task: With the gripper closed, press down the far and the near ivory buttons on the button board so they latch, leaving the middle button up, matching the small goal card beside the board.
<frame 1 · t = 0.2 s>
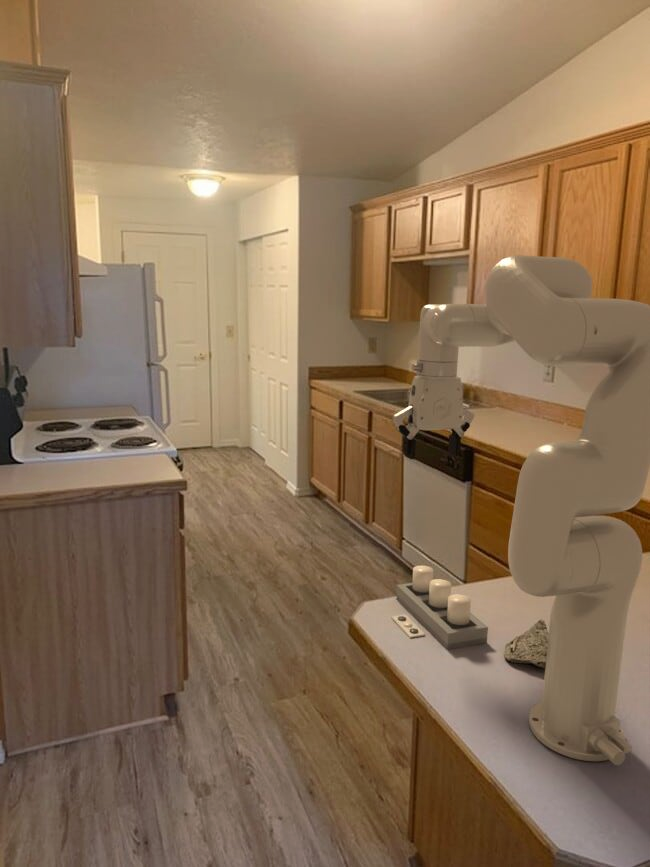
hand: (431, 456, 128), 30 cm above the counter, tool pointing down, fingers open, 9 cm apart
button board: (438, 619, 124), on the counter
button far: (422, 578, 130), point 5 cm above the counter, slide at 0.0 cm
button mid: (439, 593, 123), point 5 cm above the counter, slide at 0.0 cm
rock sample: (529, 662, 110), on the counter
button near: (458, 609, 117), point 5 cm above the counter, slide at 0.0 cm
goal card: (407, 626, 121), on the counter
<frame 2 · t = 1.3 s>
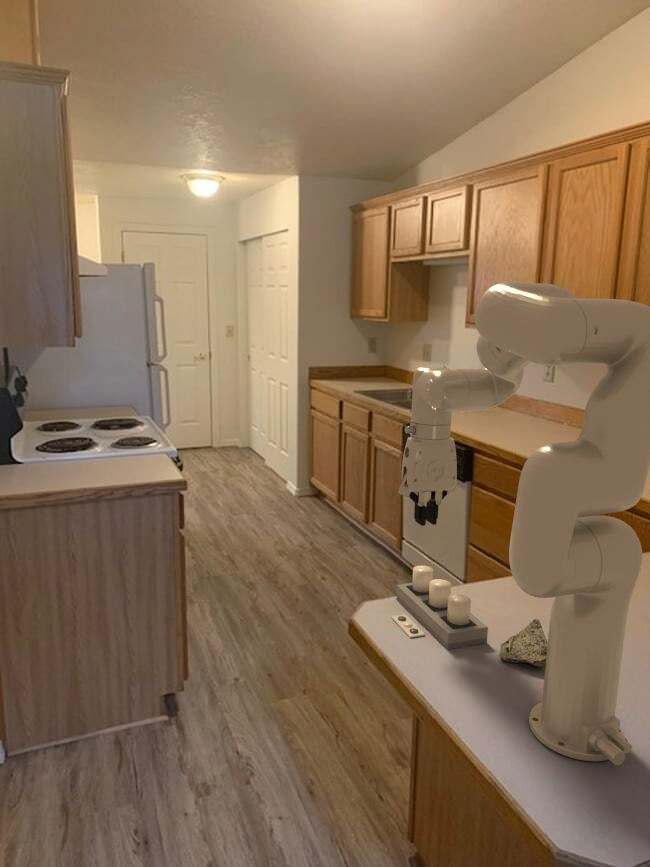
hand: (425, 522, 127), 17 cm above the counter, tool pointing down, fingers closed
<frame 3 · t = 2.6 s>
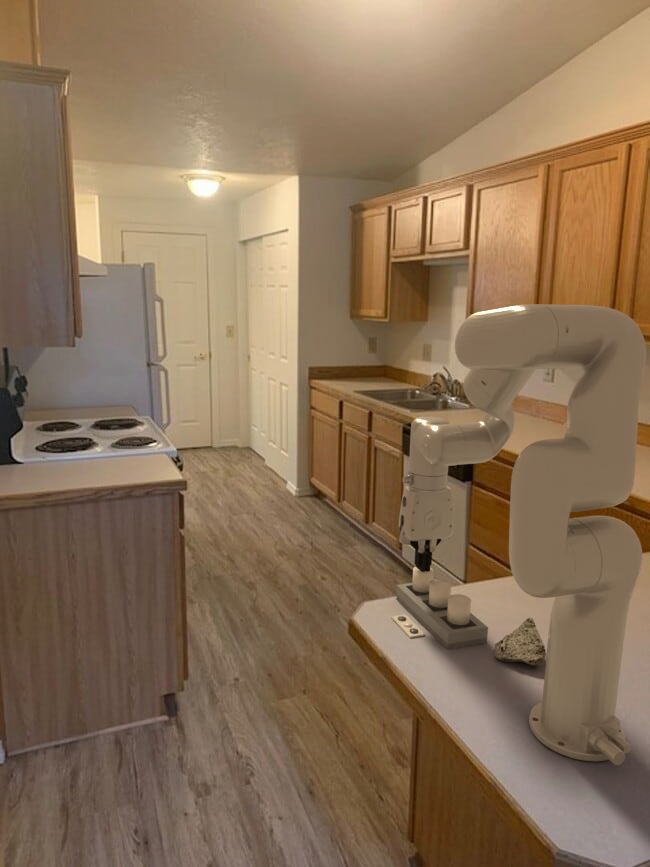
hand: (422, 568, 129), 7 cm above the counter, tool pointing down, fingers closed
button far: (422, 578, 130), point 5 cm above the counter, slide at 0.0 cm, touching gripper
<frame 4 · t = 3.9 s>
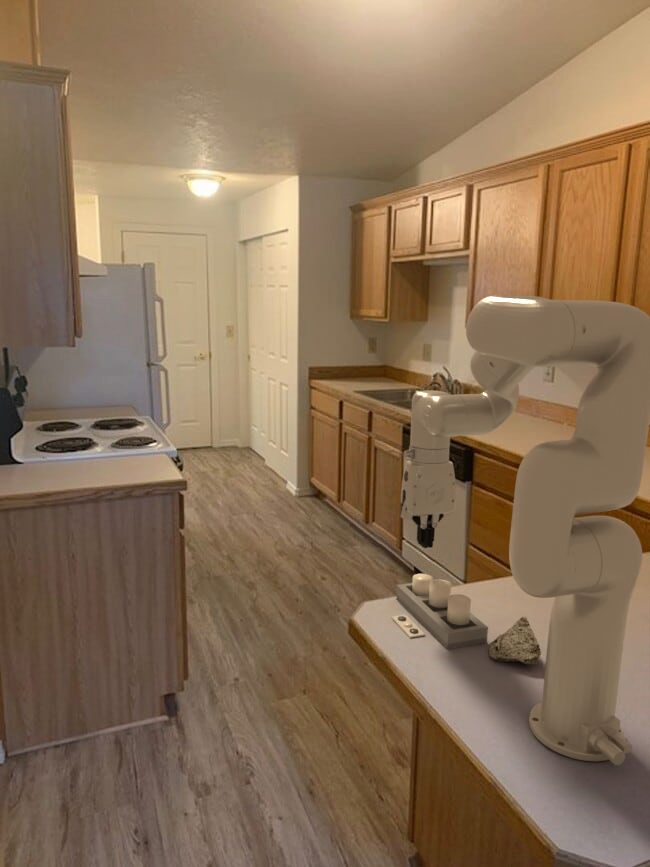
hand: (425, 545, 128), 12 cm above the counter, tool pointing down, fingers closed
button far: (422, 587, 130), point 4 cm above the counter, slide at -1.8 cm
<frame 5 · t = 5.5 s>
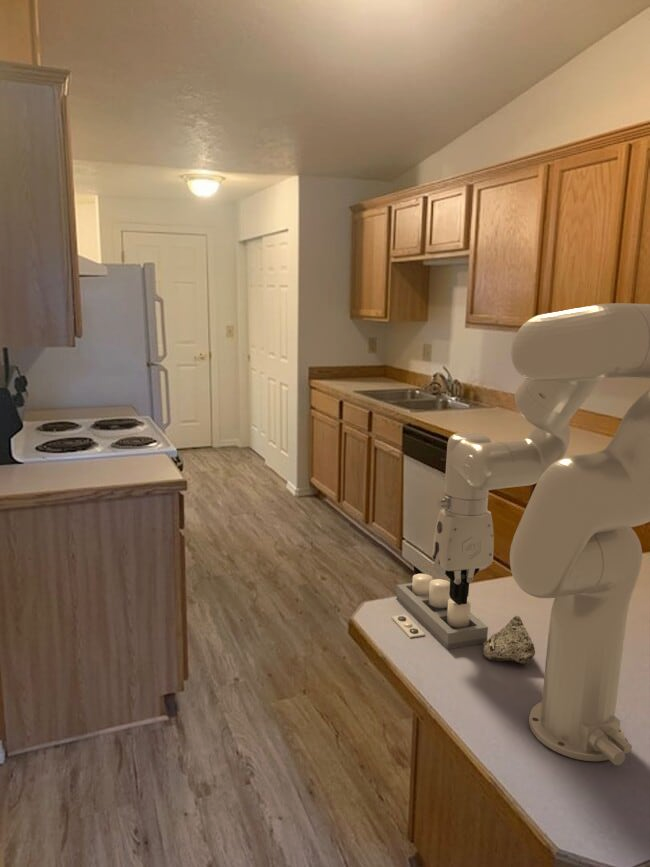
hand: (458, 600, 117), 7 cm above the counter, tool pointing down, fingers closed
button near: (458, 612, 117), point 5 cm above the counter, slide at -0.6 cm, touching gripper
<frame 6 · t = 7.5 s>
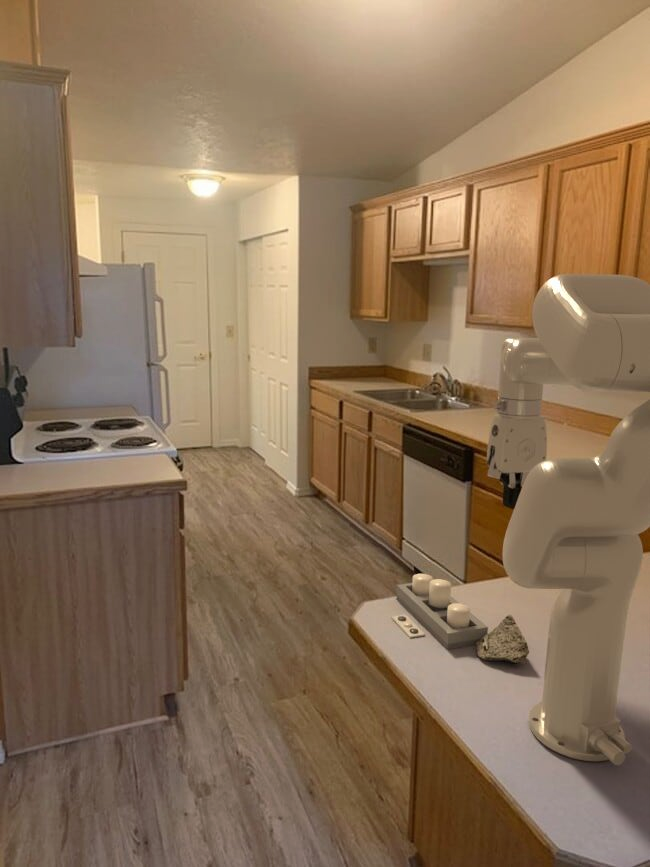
hand: (511, 506, 118), 23 cm above the counter, tool pointing down, fingers closed
rock sample: (502, 658, 111), on the counter
button near: (458, 618, 117), point 4 cm above the counter, slide at -1.8 cm
everything else where it was.
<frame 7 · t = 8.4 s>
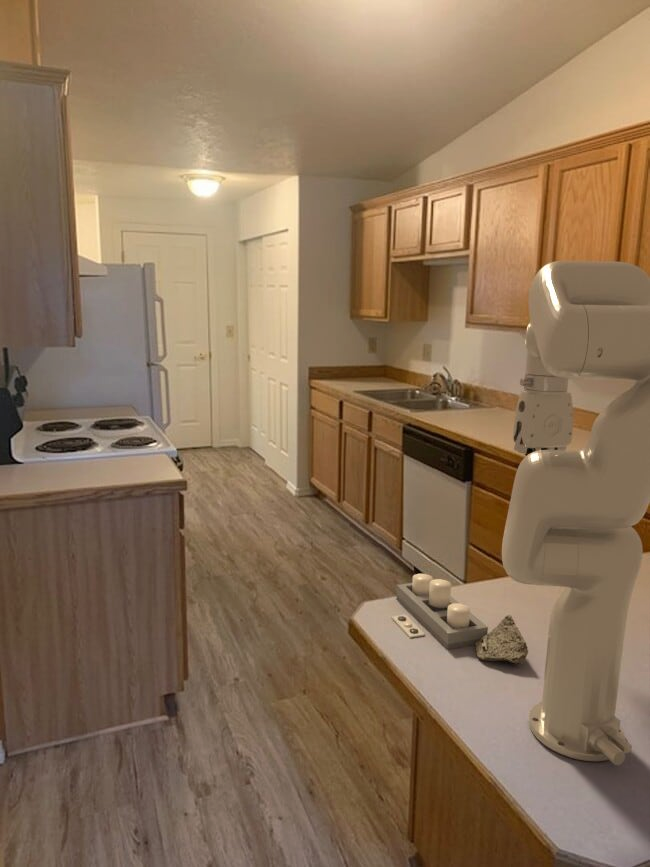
hand: (537, 482, 121), 27 cm above the counter, tool pointing down, fingers closed
nothing on the counter moved.
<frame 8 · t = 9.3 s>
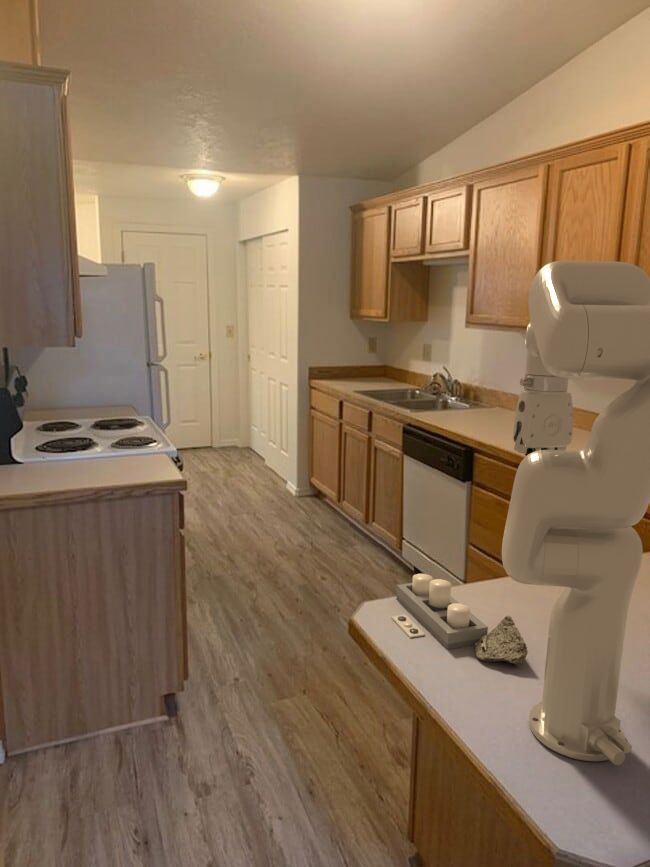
hand: (537, 482, 121), 27 cm above the counter, tool pointing down, fingers closed
nothing on the counter moved.
at the end: button far slide at -1.8 cm; button near slide at -1.8 cm; button mid slide at 0.0 cm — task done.
